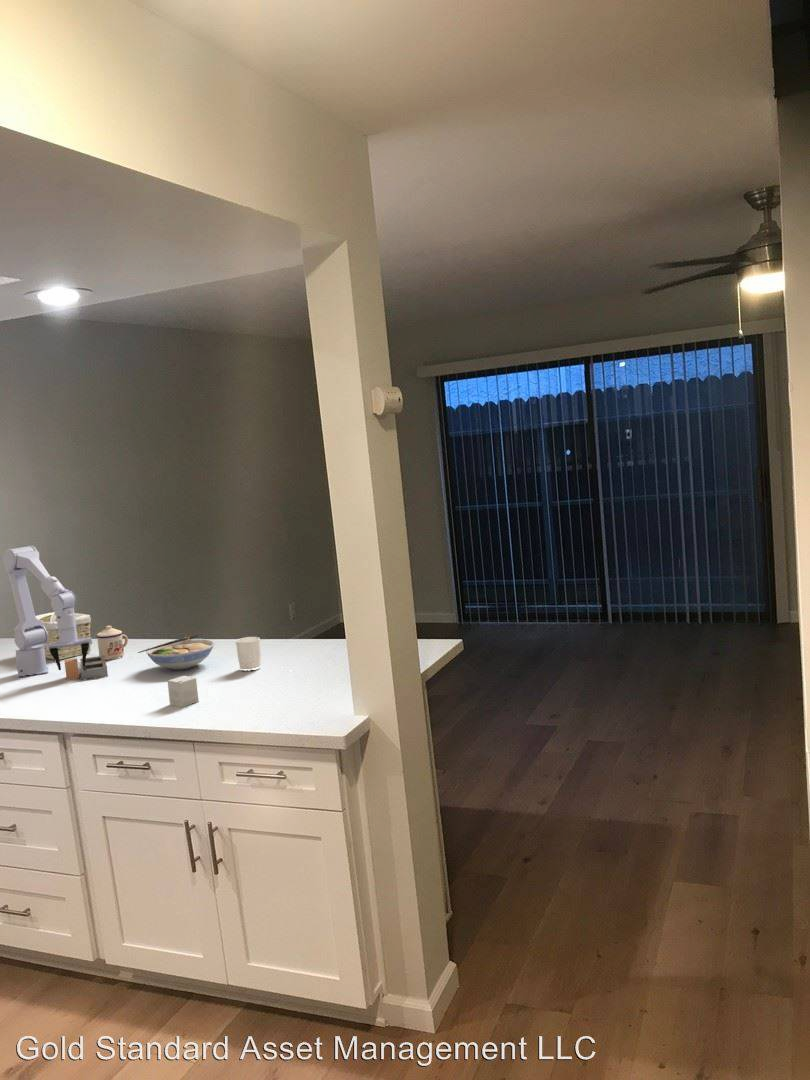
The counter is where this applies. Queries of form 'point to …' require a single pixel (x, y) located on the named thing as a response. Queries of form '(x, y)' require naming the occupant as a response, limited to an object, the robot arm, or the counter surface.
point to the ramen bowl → (180, 652)
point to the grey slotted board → (94, 667)
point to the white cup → (248, 652)
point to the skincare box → (182, 691)
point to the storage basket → (53, 634)
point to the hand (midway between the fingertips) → (71, 667)
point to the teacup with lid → (111, 643)
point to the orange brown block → (71, 668)
